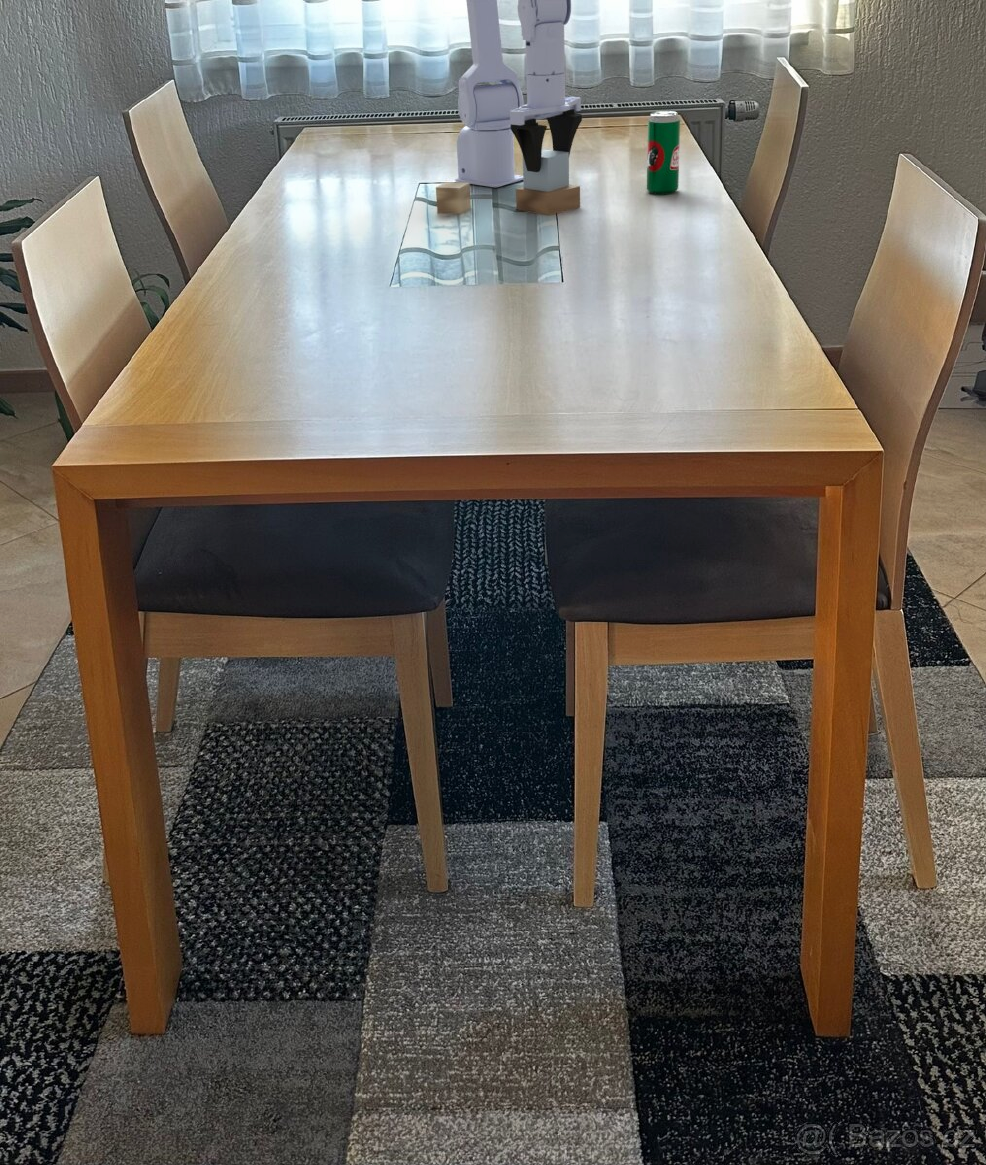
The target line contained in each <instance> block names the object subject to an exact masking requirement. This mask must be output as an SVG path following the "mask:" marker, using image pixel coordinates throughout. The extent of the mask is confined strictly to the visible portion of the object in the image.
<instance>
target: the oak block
mask: <svg viewBox="0 0 986 1165" xmlns="http://www.w3.org/2000/svg"><path fill="white" fill-rule="evenodd" d="M470 186H471V184H470V183H461V182H456V181H455V182H454V181H445V182H442V183H441V184H439V185H438V186H436V187H435V197H436V211H437V214H445V215H446V214H448V215H462V214H464V213H465V212H467V211H469V210H471V208H472V207H471V206H472V205H471V190H470V189H471V188H470Z"/></svg>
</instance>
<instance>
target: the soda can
mask: <svg viewBox="0 0 986 1165" xmlns="http://www.w3.org/2000/svg"><path fill="white" fill-rule="evenodd" d="M678 115H679V113H678V112H676V111H667V110H665V111H663V110H662V111H661V110H660V111H654V112H651V113H650V115H649V116H650V117H649V118H648V119H647V141H646V142H647V143H646V144H647V146H646V149H647V150H646V151H647V152H646V155H647V156H646V158H647V159H646V161H647V162H646V190H647V191H648V193H650V194H653V195H660V196H661V195H663V196H664V195H671V194H674V193H676V192H677V191H678V190H679V183H680V181H679V179H680V178H679V177H680V150H681V149H680V145H681V144H680V141H681V140H680V139H681V119H680V118H679V116H678Z"/></svg>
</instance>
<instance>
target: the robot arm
mask: <svg viewBox="0 0 986 1165" xmlns="http://www.w3.org/2000/svg"><path fill="white" fill-rule="evenodd" d="M465 2H466V9H467V20H468V29H469V37H470V48H471V59H472V65H470V67H469V68H468V69H467V70H466V72H464V74H462V76H460V78H459V80H458V97H457V109H458V115H459V118H460V121H461V122H462V124H464V125H465V126H464V127H463V128H461V130H460V131H459V133H458V135H457V139H456V155H457V156H456V157H457V158H456V159H457V172H458V176H457V178H455V182H461V183H470V185H475V186H481V187H482V186H484V187H490V188H499V187H503V186H506V185H509V184H510V185H511V184H514V183H517V182H520V181H523V175H519V174H516V170H515V169H516V168H515V165H516V164H515V139H516V141H517V143H518V145H519V149H520V151H521V153H522V158H523V157H524V161H525V165H526V168H527V171H531V172H540V168H541V153H542V149H543V141H544V137H545V135H546V134H545V133H546V130H547V128H548V126H549V130H550V135H551V140H552V142H551V143H552V150H554V151H562V152H569V156H570V154H571V150H572V146H573V142H574V139H575V135H576V133H577V130H578V129H579V127H580V125H581V122H582V121H583V114H582V113H576V112H580V111H582V98H581V97H580V96H578V97H577V96H569V97H568V96H567V97H566V73H565V72H566V60H565V59H566V56H565V55H566V54H565V52H566V51H565V25H567V24H568V23H569V21H570V18H571V14H572V0H518V1H517V13H518V19H519V22H520V27H521V37H522V40H523V41H525V67H526V68H525V70H526V73H525V74H526V77H525V78H526V104H525V102H524V101H525V100H524V94H523V92H522V89H521V84H520V79H519V74H518V73H517V71H516V70H514V69H512V68H511V67H510V66H508V65H507V64H506V63H505V62H504V61H503V60H504V59H503V49H502V41H501V30H500V20H499V19H500V18H499V10H498V0H465ZM493 82H499V83H494V84H486V85H477V84H481V83H493ZM543 119H547V120H546V121H547V123H548V126H547V125H543V124H539V122H537V121H539V120H543ZM514 137H515V139H514Z"/></svg>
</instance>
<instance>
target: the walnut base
mask: <svg viewBox="0 0 986 1165" xmlns="http://www.w3.org/2000/svg"><path fill="white" fill-rule="evenodd" d="M515 205H516V206H515V207H516V210H517V209H518V211H522V210H523V212H528V213H535V214H539V215H543V216H548V217H549V216H553V215H556V213H557V214H559V213H564V212H567V210H568V211H571V210H574V208H575V209H578V208H581V185H577V184H576V185H575V184H570V183H569V186H566V187H563V188H560V189H556V190H553V191H550V192H546V191H539V190H533V189H526V188H524V187H523V186H521V187H518V188H515ZM577 207H578V208H577ZM570 209H571V210H570ZM563 211H564V212H563Z"/></svg>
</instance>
